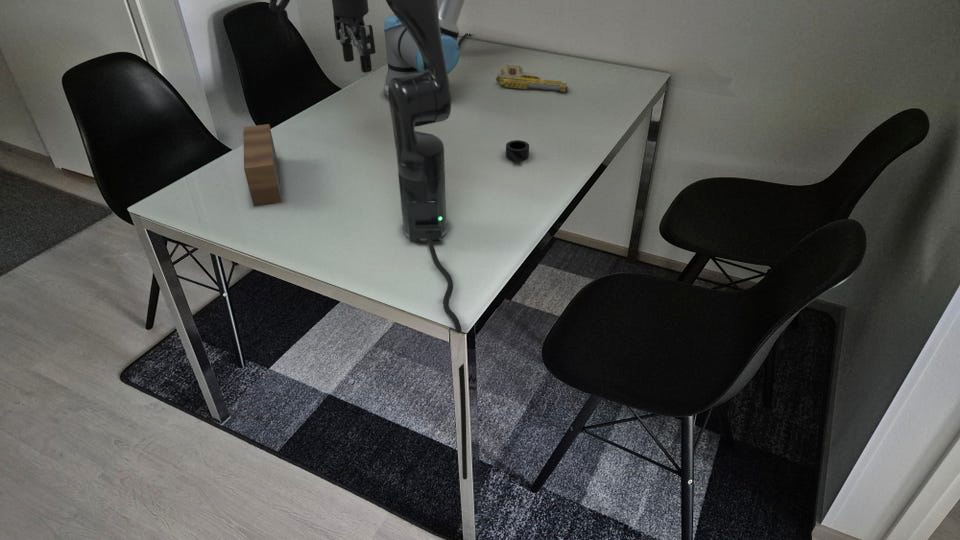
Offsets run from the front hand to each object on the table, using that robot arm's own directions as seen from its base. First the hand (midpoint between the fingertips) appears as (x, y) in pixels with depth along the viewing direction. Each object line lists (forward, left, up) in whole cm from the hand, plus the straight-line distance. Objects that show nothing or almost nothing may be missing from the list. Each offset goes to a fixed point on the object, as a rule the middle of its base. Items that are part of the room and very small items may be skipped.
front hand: (357, 66), depth 143 cm
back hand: (+14, +11, +2) cm, 18 cm away
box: (-10, +23, -24) cm, 35 cm away
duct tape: (0, -37, -24) cm, 44 cm away
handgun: (+49, -46, -24) cm, 71 cm away
